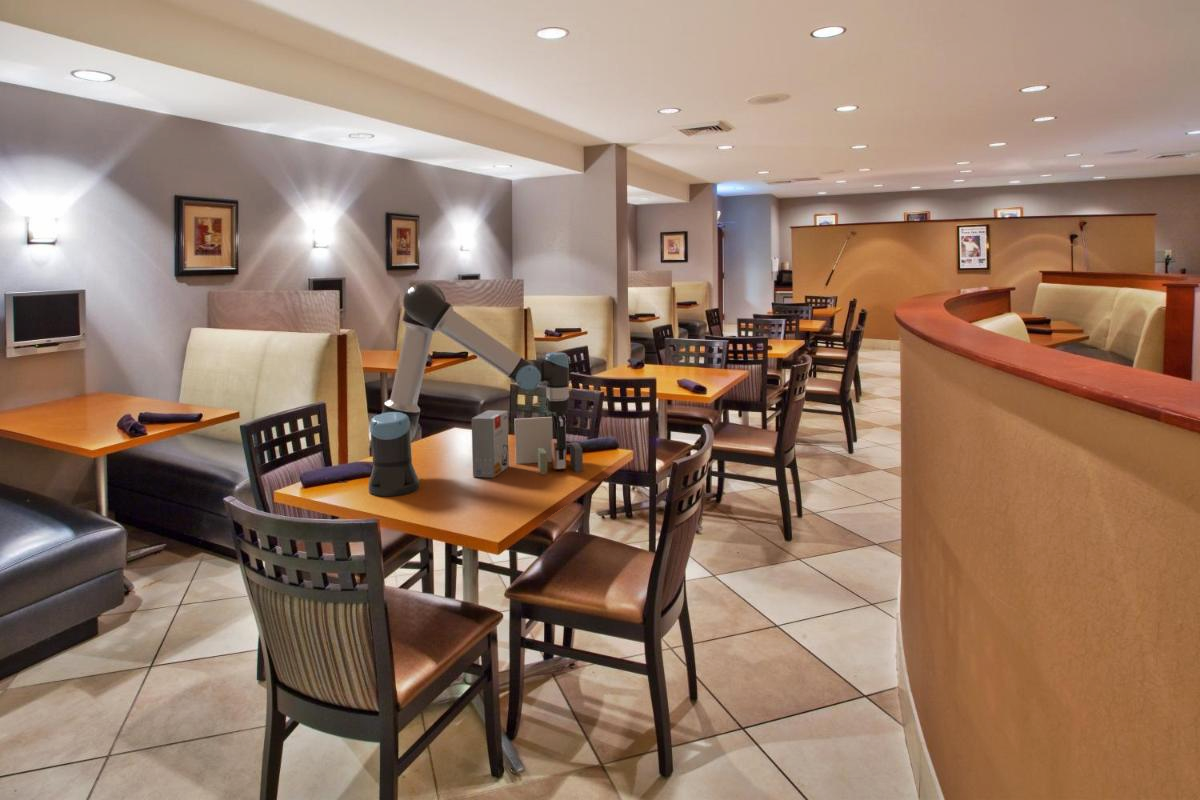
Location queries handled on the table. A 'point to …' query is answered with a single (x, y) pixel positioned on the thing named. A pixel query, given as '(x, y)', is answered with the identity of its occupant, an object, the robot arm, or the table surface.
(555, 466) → the book
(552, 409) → the robot arm
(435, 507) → the table surface
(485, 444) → the hard drive box
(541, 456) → the divider book
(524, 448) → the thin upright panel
